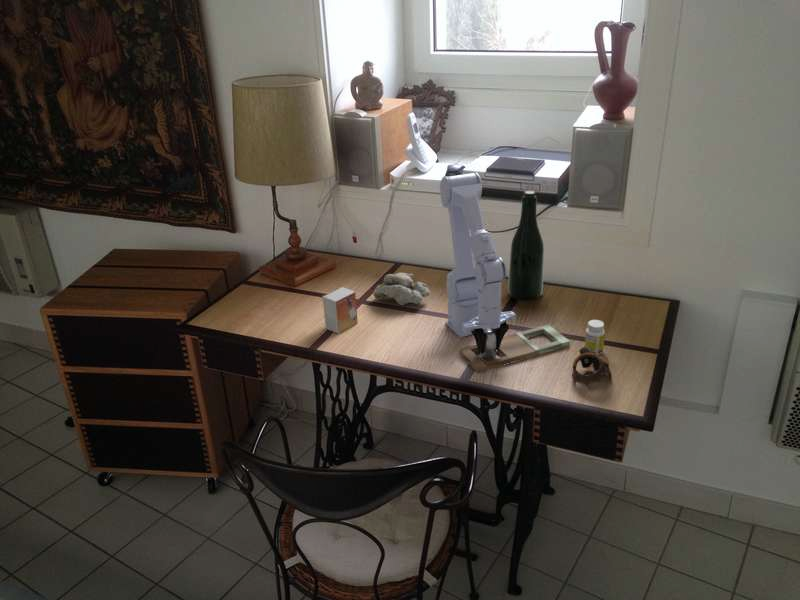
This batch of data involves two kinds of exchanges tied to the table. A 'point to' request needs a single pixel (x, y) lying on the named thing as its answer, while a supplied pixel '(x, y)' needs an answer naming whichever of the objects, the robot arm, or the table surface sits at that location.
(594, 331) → the supplement bottle
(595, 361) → the pottery mug
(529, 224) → the dark green wine bottle
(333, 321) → the small box
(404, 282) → the mineral
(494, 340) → the peg
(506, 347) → the board with square holes
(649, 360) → the table surface
